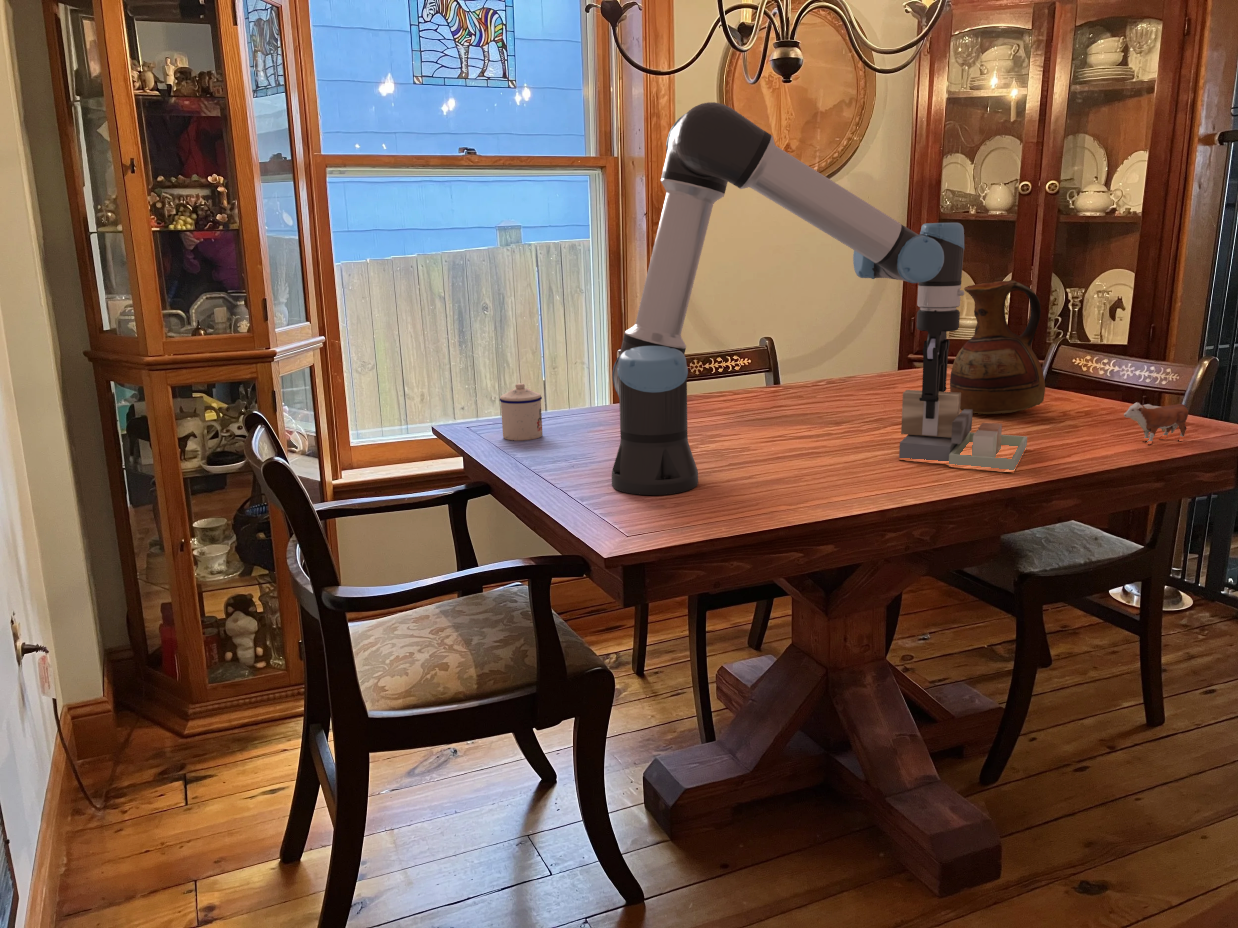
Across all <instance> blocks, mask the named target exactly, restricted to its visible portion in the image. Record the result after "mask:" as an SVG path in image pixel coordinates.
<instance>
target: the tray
mask: <svg viewBox="0 0 1238 928" xmlns="http://www.w3.org/2000/svg"><path fill="white" fill-rule="evenodd" d="M975 433H976V432H972V431H970V432H969V434H968V435H967V436H966V438H965V439H964V440H963V441H962V443H961V444H957V445H956V447H955V448H954V449H953V450H952V452H951V453H950V454H949V464H955V465H956V464H957V465H971V466H981V467H991V468H999V469H1009V470H1014V469H1015V467H1016V465H1017V464H1018V462H1019V460H1020V458H1021V456H1022V454H1023V452H1024V450H1025V448H1026V446H1027V445H1028V436H1025V435H1024V436H1023V435H1012V434H1008V435H1007V434H1001V445H1009V446H1018V448H1017V450H1016V452H1015V454H1014V455H1013V457H1012V459H1007V458H995V457H983V456H971V455H960V453H961V452H962V451H963V449H964V448H965V447H966V445H967V444H968V443H969V442H973V435H974V434H975ZM1026 449H1027V448H1026Z"/></svg>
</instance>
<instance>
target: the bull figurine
mask: <svg viewBox="0 0 1238 928" xmlns="http://www.w3.org/2000/svg"><path fill="white" fill-rule="evenodd" d="M1123 416H1124V418H1127V419H1131V420H1133V421H1134V422H1137V424H1138V426H1139V427H1140V428H1141V430H1143V434H1144V438H1149V440H1148V441H1153V439H1154V437H1155V436H1156V433H1157V431H1158V429H1161V432H1163V434H1162V435H1167V436H1169V435H1168V434H1169V433H1171V434H1174V432H1175V430H1177V428H1178V429H1179V430H1180V435H1179V437H1180V436H1182V437H1183V436H1184V437H1185V434H1186V432H1187V425H1186V422H1187V419H1188V417H1189V410H1188V409H1187V407H1186V405H1185V404H1183V403H1178V404H1173V405H1172V404H1171V405H1164V406H1158V405H1152V404H1150V403H1147V404H1141V403H1140V402H1138V401H1137V402H1135V403H1133V404H1132V405H1130V406H1129V407H1128V410H1126V411H1125V412H1124V413H1123ZM1148 441H1147V442H1148Z"/></svg>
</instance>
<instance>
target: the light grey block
mask: <svg viewBox="0 0 1238 928" xmlns="http://www.w3.org/2000/svg"><path fill="white" fill-rule="evenodd" d="M974 433H975V434H974V435H973V445H972V456H983V457H996V447H997V433H998V432H997V431H983V430H978V429H977V430H976V431H975V432H974Z"/></svg>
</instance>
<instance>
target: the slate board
mask: <svg viewBox="0 0 1238 928" xmlns="http://www.w3.org/2000/svg"><path fill="white" fill-rule="evenodd" d="M956 445H957V444H953V443H951V438H949V437H935V436H921V435H907V434H906V436H905V437H904V438H903V439H902V440H901V441H900V442H899V452H898V454H899V455H898V459H899V458H910V459H911V458H912V459H924V460H925V459H926V460H938V461H949V454H950V453H951V452H952V450H953V449H954V448H955V447H956Z"/></svg>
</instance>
